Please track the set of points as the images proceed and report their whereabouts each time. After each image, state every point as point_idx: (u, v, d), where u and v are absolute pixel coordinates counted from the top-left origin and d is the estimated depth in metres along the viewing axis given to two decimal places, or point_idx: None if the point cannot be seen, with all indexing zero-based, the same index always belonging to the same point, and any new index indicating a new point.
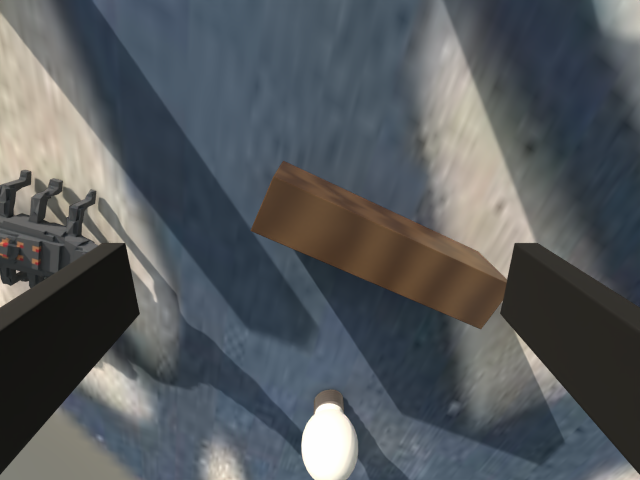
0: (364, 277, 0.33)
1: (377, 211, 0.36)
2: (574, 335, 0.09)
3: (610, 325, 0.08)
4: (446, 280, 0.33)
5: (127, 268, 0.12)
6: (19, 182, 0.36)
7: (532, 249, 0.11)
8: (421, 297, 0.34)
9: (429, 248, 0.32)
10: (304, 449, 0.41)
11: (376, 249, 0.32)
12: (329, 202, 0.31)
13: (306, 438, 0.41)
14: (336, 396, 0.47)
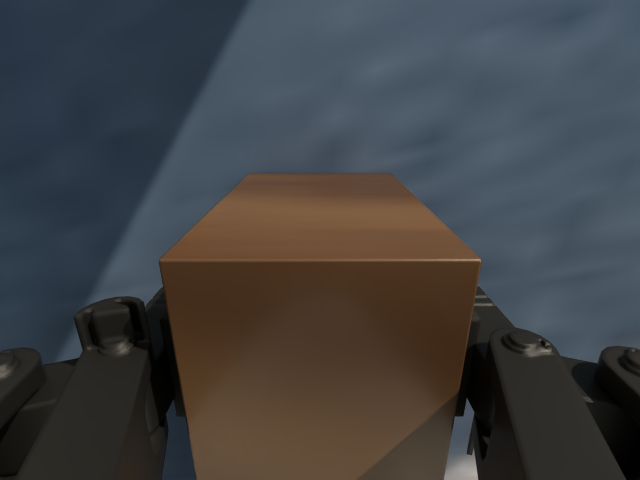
0: None
1: None
2: None
3: None
4: None
5: None
6: None
7: None
8: None
9: None
10: None
11: None
12: (441, 479, 0.08)
13: None
14: None
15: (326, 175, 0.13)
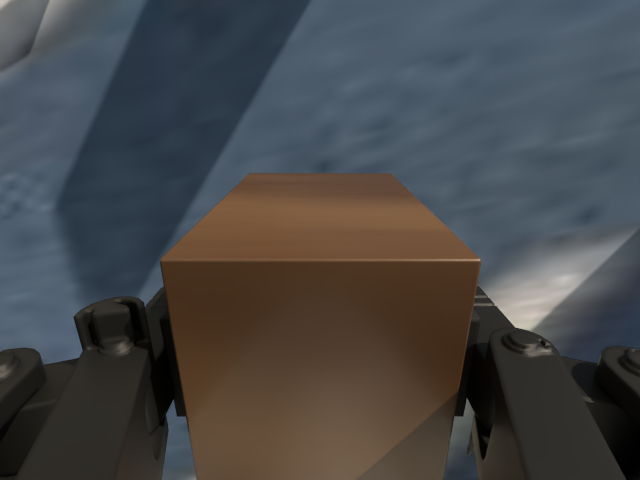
0: None
1: None
2: None
3: None
4: None
5: None
6: None
7: None
8: None
9: None
10: None
11: None
12: (441, 479, 0.08)
13: None
14: None
15: (326, 175, 0.13)
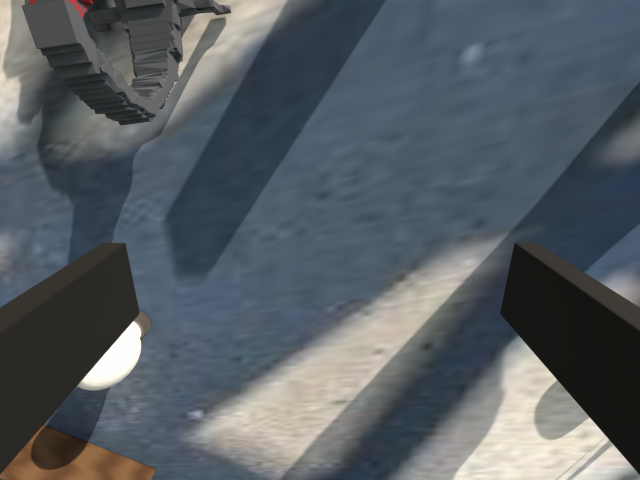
0: None
1: (56, 456, 0.52)
2: (574, 335, 0.09)
3: (610, 325, 0.08)
4: None
5: (127, 268, 0.12)
6: None
7: (532, 249, 0.11)
8: None
9: None
10: None
11: None
12: None
13: None
14: (146, 326, 0.46)
15: None
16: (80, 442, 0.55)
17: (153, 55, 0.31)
